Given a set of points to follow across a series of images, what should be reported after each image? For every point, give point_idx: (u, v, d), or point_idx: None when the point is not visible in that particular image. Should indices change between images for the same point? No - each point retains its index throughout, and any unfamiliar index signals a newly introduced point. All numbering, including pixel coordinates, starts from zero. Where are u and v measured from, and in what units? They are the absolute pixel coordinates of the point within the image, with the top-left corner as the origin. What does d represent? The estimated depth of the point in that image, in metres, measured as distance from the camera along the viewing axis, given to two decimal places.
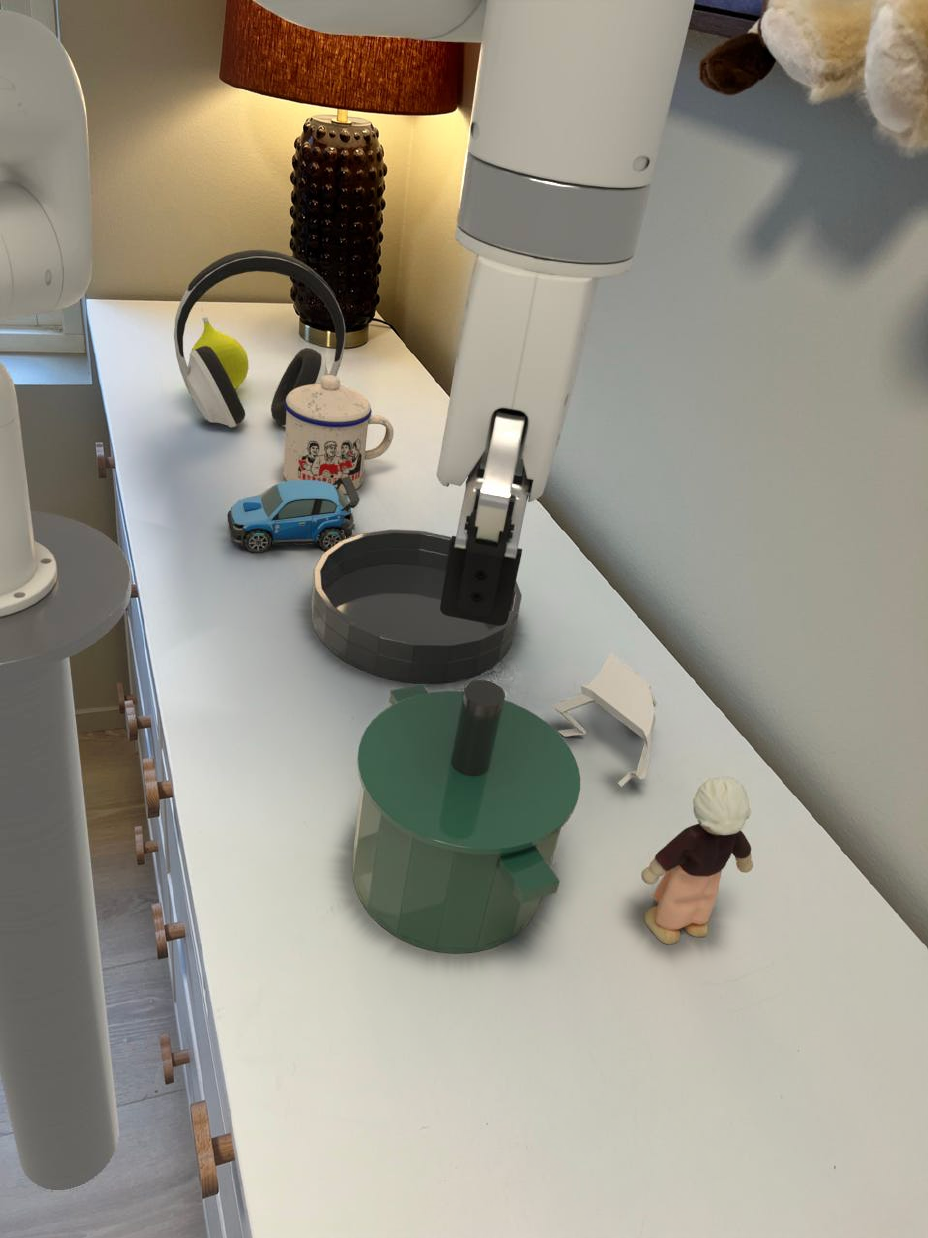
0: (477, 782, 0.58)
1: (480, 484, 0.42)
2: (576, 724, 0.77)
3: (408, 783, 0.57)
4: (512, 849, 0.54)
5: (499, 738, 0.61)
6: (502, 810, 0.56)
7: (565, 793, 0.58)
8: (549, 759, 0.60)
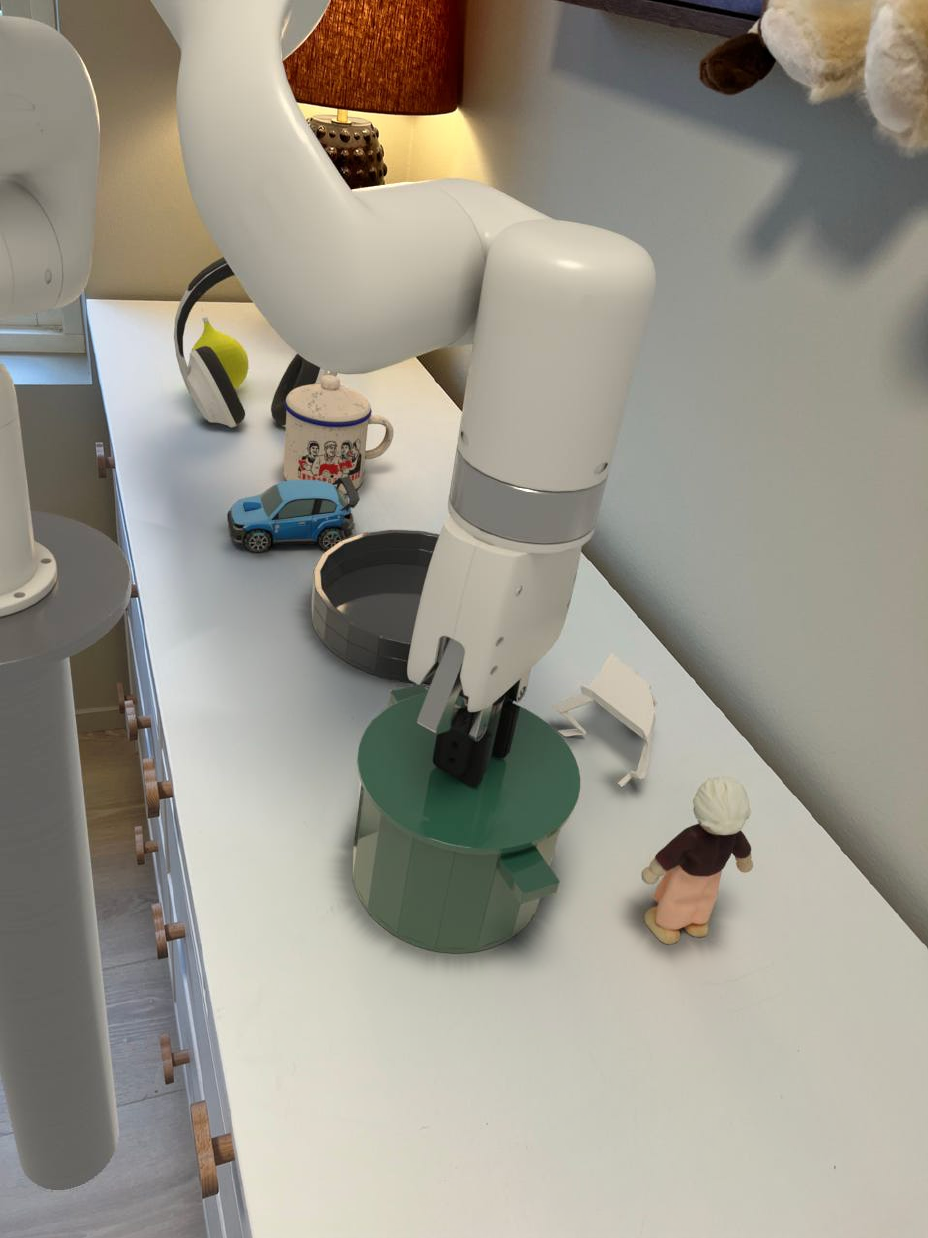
0: None
1: None
2: (576, 724, 0.77)
3: (408, 783, 0.57)
4: (512, 849, 0.54)
5: None
6: (502, 810, 0.56)
7: (565, 793, 0.58)
8: (549, 759, 0.60)
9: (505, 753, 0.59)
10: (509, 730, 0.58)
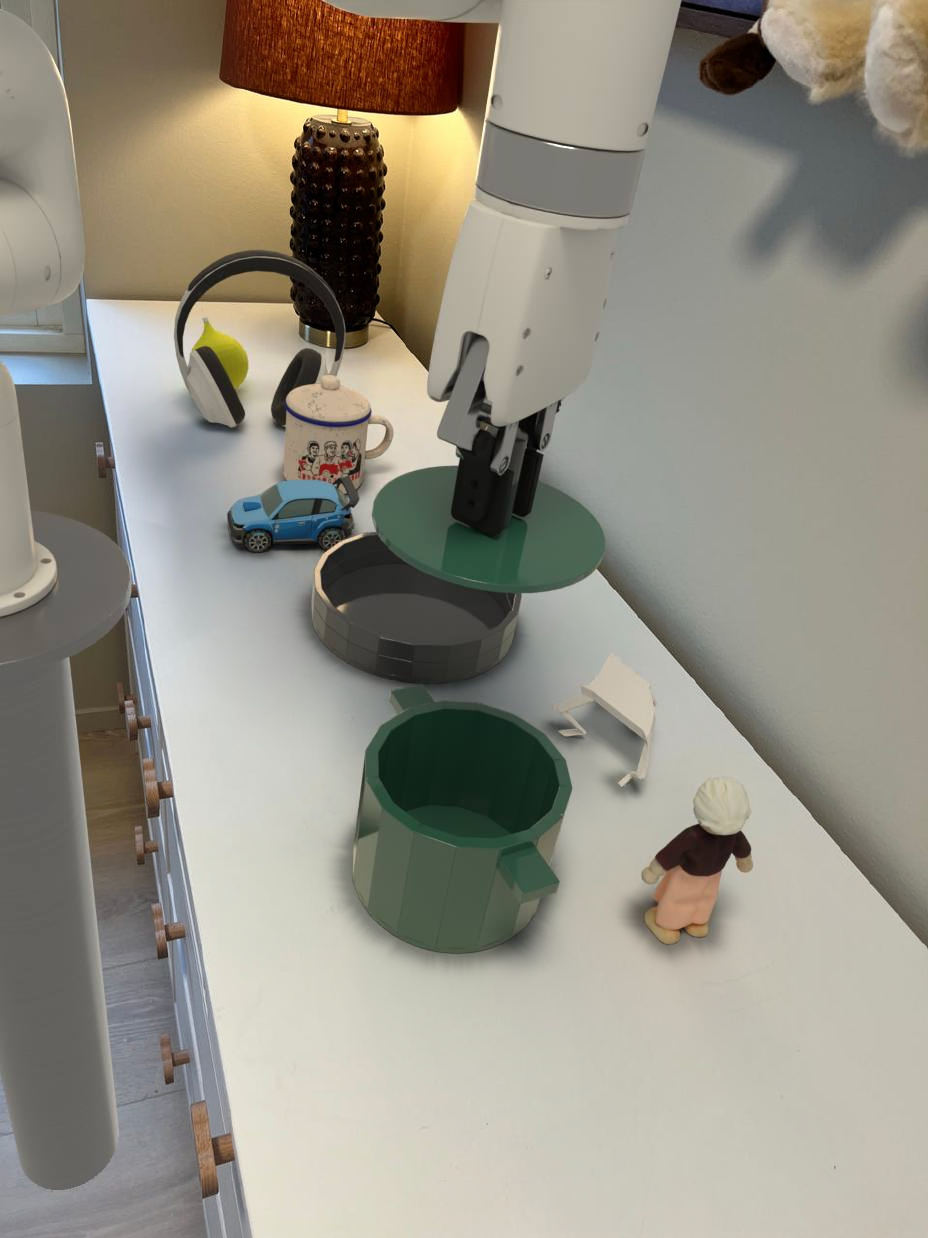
0: (497, 535, 0.55)
1: None
2: (576, 724, 0.77)
3: (425, 531, 0.54)
4: (534, 589, 0.51)
5: None
6: (524, 557, 0.53)
7: (590, 549, 0.55)
8: (572, 523, 0.57)
9: (527, 510, 0.56)
10: (532, 482, 0.55)
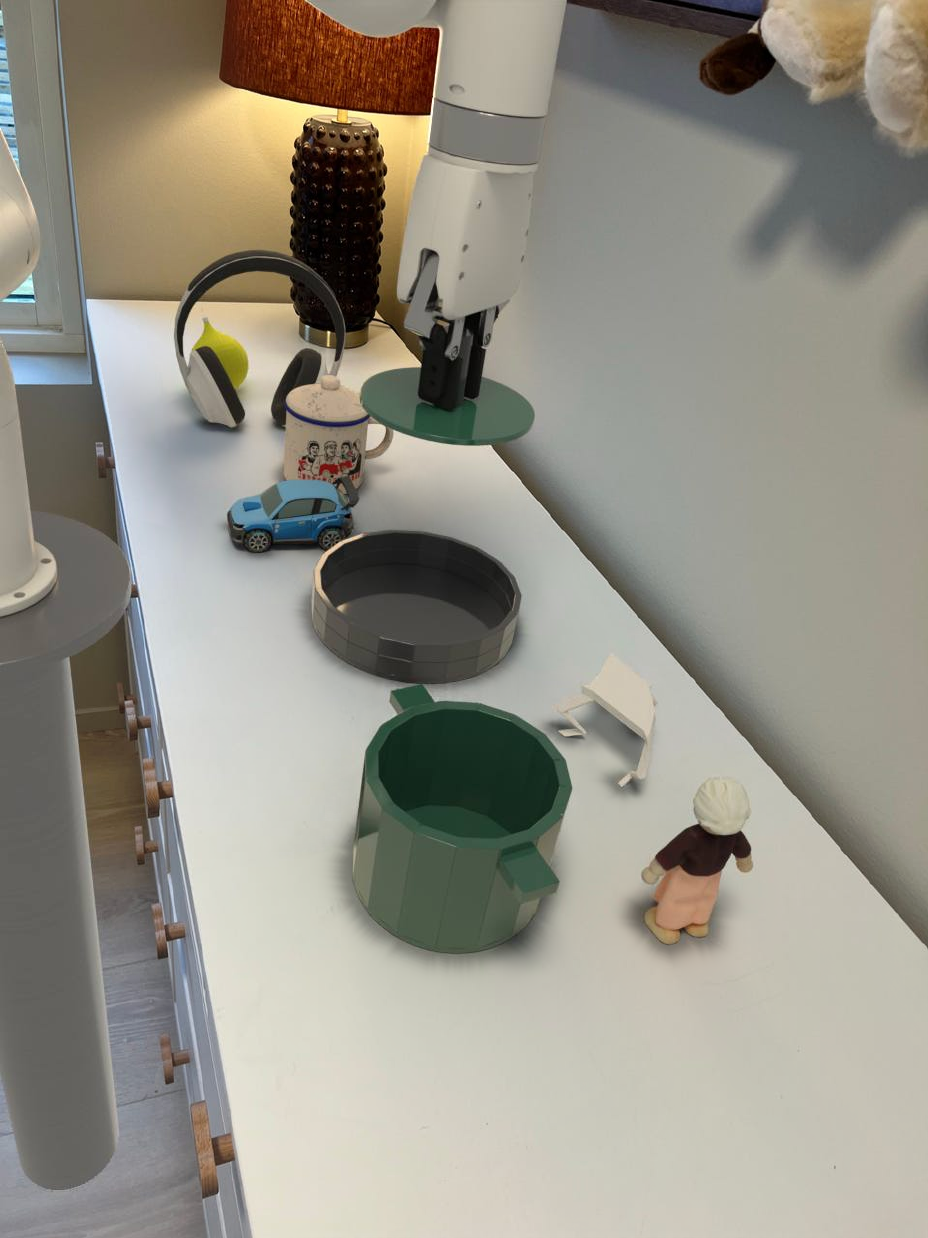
0: (453, 409, 0.74)
1: None
2: (576, 724, 0.77)
3: (399, 406, 0.73)
4: (478, 442, 0.70)
5: None
6: (472, 423, 0.72)
7: (522, 420, 0.74)
8: (511, 404, 0.76)
9: (475, 393, 0.75)
10: (478, 370, 0.74)
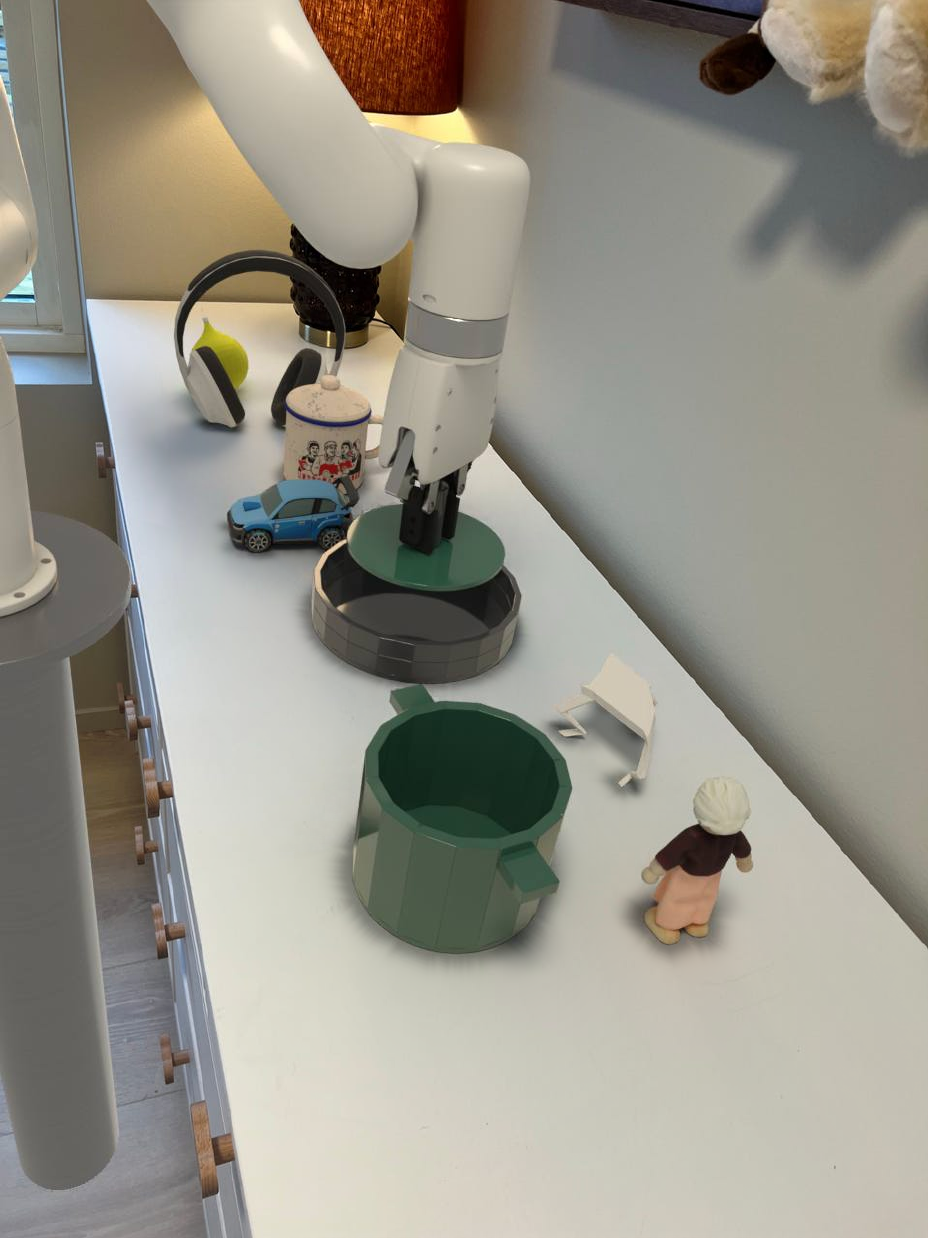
0: (431, 552, 0.82)
1: None
2: (576, 724, 0.77)
3: (382, 551, 0.81)
4: (453, 588, 0.78)
5: None
6: (447, 567, 0.80)
7: (493, 561, 0.82)
8: (483, 542, 0.84)
9: (451, 535, 0.83)
10: (453, 516, 0.82)
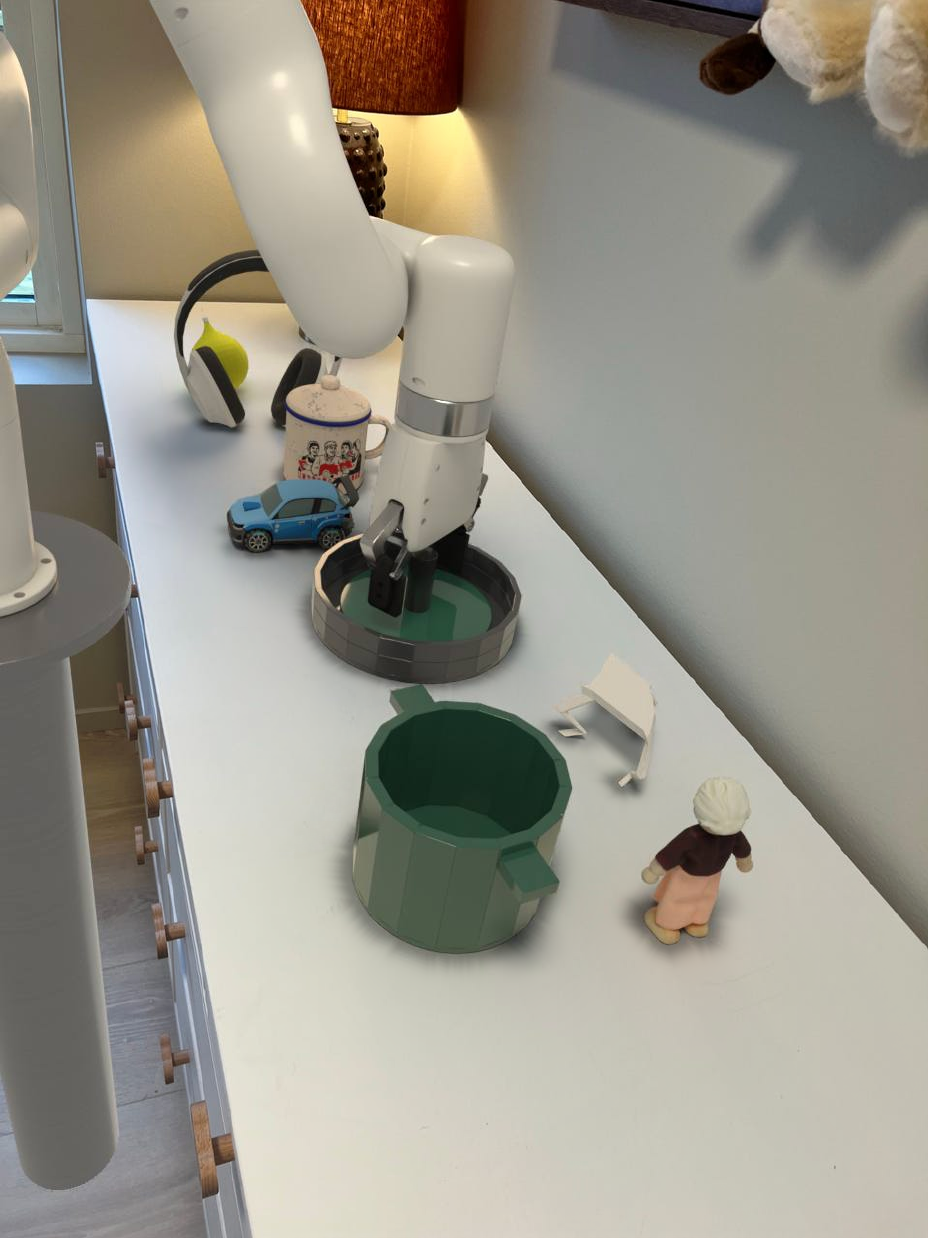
0: (420, 616, 0.85)
1: (387, 537, 0.79)
2: (576, 724, 0.77)
3: (373, 615, 0.85)
4: None
5: (438, 592, 0.89)
6: (436, 631, 0.84)
7: (480, 624, 0.86)
8: (471, 605, 0.88)
9: (460, 569, 0.88)
10: (463, 551, 0.87)
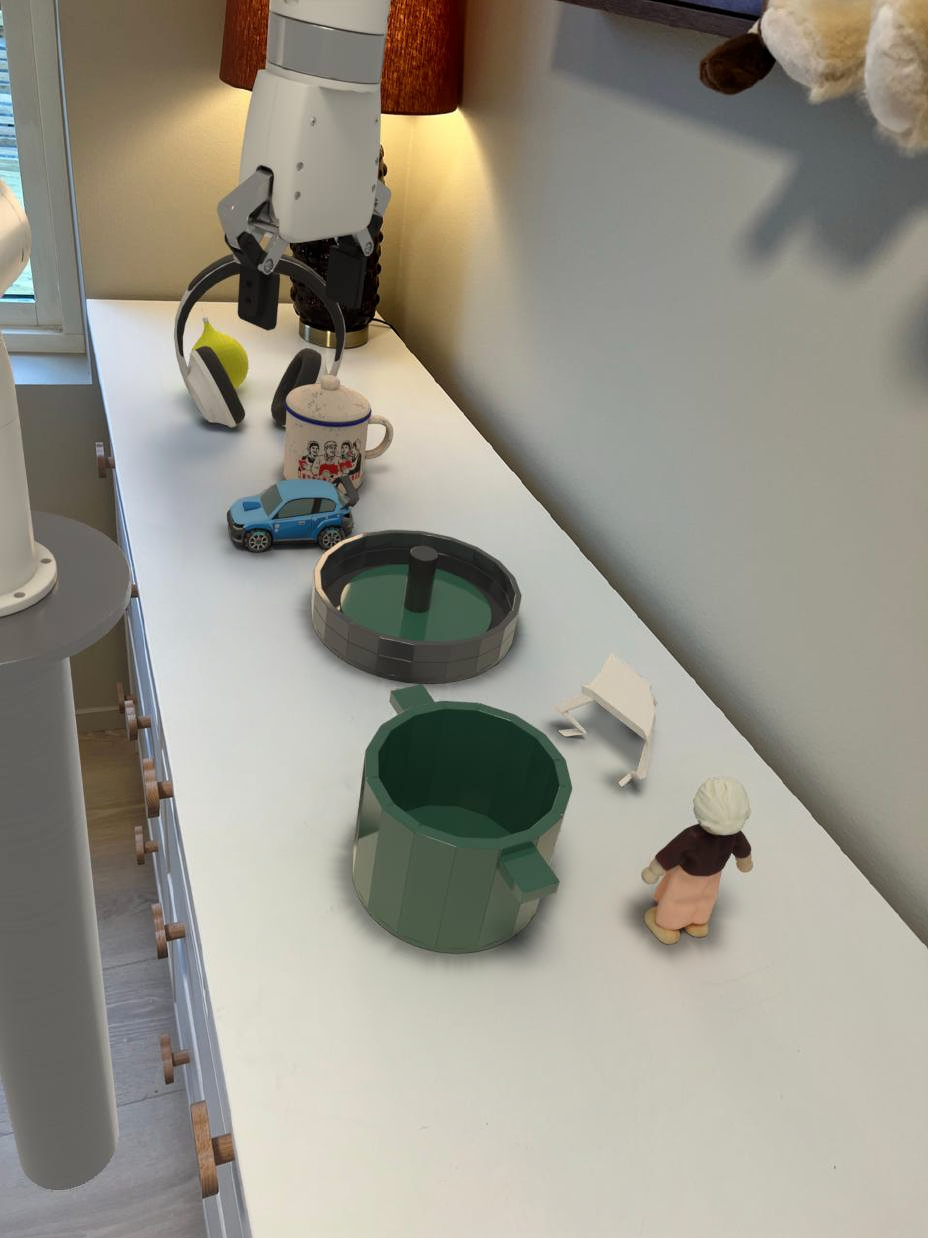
0: (420, 616, 0.85)
1: (258, 223, 0.66)
2: (576, 724, 0.77)
3: (373, 615, 0.85)
4: None
5: (438, 592, 0.89)
6: (436, 631, 0.84)
7: (480, 624, 0.86)
8: (471, 605, 0.88)
9: (357, 303, 0.76)
10: (359, 279, 0.75)
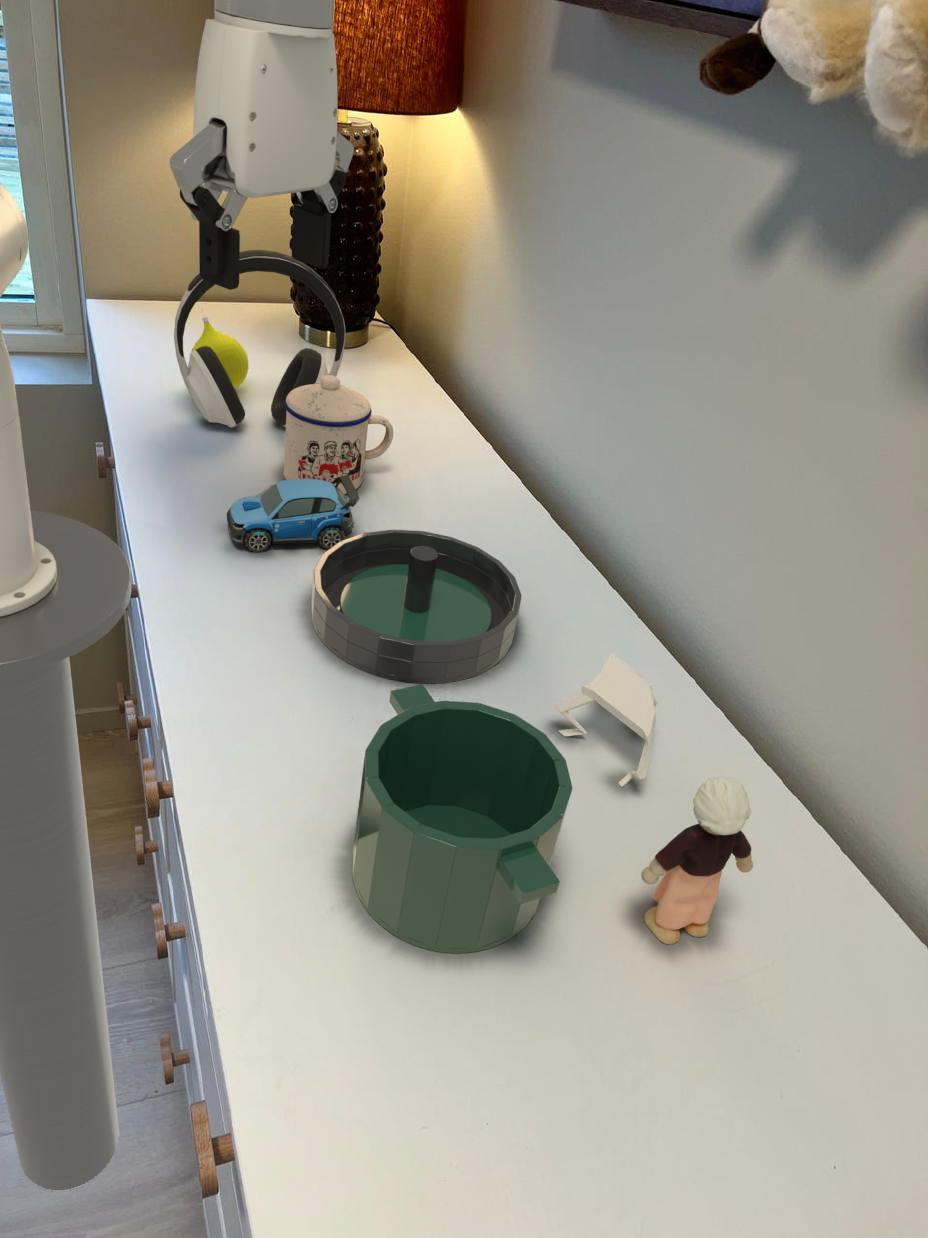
0: (420, 616, 0.85)
1: (215, 179, 0.65)
2: (576, 724, 0.77)
3: (373, 615, 0.85)
4: None
5: (438, 592, 0.89)
6: (436, 631, 0.84)
7: (480, 624, 0.86)
8: (471, 605, 0.88)
9: (323, 262, 0.74)
10: (324, 237, 0.73)
